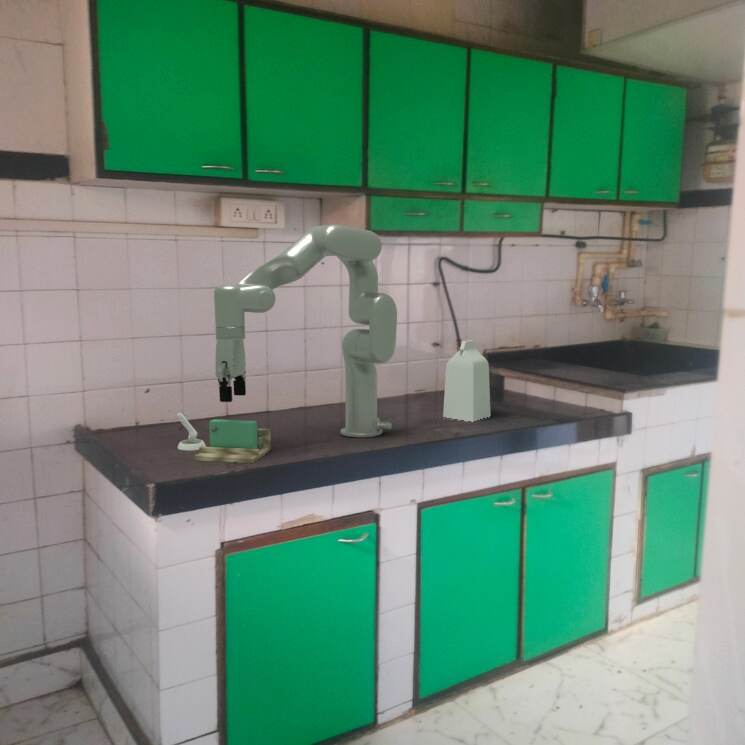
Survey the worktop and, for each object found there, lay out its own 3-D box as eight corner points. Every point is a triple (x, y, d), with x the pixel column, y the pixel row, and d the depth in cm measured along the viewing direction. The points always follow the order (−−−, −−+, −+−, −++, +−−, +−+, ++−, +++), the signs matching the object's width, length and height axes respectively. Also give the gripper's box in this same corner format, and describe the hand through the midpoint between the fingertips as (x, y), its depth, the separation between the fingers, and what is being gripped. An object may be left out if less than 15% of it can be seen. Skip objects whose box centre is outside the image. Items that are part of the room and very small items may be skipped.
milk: (473, 422, 237) (474, 343, 233) (443, 418, 243) (444, 341, 240) (490, 416, 246) (492, 340, 243) (461, 412, 253) (462, 338, 250)
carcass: (270, 450, 197) (270, 425, 196) (253, 463, 184) (252, 436, 183) (215, 448, 200) (214, 423, 199) (193, 460, 186) (193, 433, 186)
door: (257, 450, 192) (256, 420, 191) (252, 454, 188) (251, 424, 187) (214, 448, 194) (214, 419, 193) (208, 452, 190) (207, 422, 189)
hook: (159, 427, 202) (179, 412, 205) (186, 460, 204) (206, 444, 207) (161, 427, 195) (182, 410, 198) (189, 461, 197) (209, 444, 200)
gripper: (229, 330, 197) (231, 392, 199) (203, 336, 180) (206, 404, 182) (255, 330, 195) (257, 393, 198) (231, 336, 179) (234, 404, 181)
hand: (233, 398), depth 190 cm, fingers open, 9 cm apart
